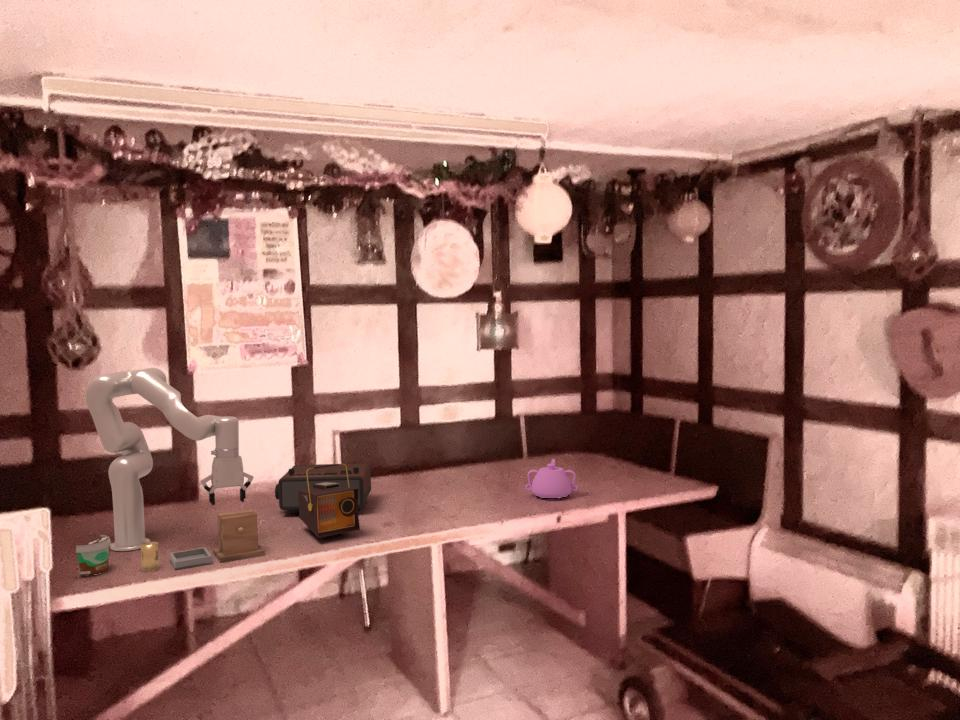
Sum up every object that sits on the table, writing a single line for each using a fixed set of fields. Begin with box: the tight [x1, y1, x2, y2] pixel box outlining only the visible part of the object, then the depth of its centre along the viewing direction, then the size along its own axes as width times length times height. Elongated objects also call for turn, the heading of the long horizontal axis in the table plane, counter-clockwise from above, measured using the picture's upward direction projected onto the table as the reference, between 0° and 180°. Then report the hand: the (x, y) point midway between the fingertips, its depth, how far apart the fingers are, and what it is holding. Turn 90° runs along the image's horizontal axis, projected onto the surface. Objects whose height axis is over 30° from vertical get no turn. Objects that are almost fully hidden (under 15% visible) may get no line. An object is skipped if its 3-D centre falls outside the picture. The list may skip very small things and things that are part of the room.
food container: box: [75, 534, 112, 577], centre depth 241 cm, size 12×6×10 cm, turn 170°
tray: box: [169, 547, 213, 571], centre depth 248 cm, size 11×11×2 cm
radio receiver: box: [274, 462, 372, 514], centre depth 313 cm, size 35×27×18 cm
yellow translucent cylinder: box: [140, 541, 160, 572], centre depth 242 cm, size 5×5×8 cm
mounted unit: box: [212, 508, 266, 564], centre depth 255 cm, size 12×14×14 cm
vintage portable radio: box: [298, 463, 361, 539], centre depth 276 cm, size 16×23×25 cm
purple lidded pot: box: [525, 458, 579, 498], centre depth 326 cm, size 22×22×14 cm
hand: (227, 502), depth 264 cm, fingers open, 9 cm apart
